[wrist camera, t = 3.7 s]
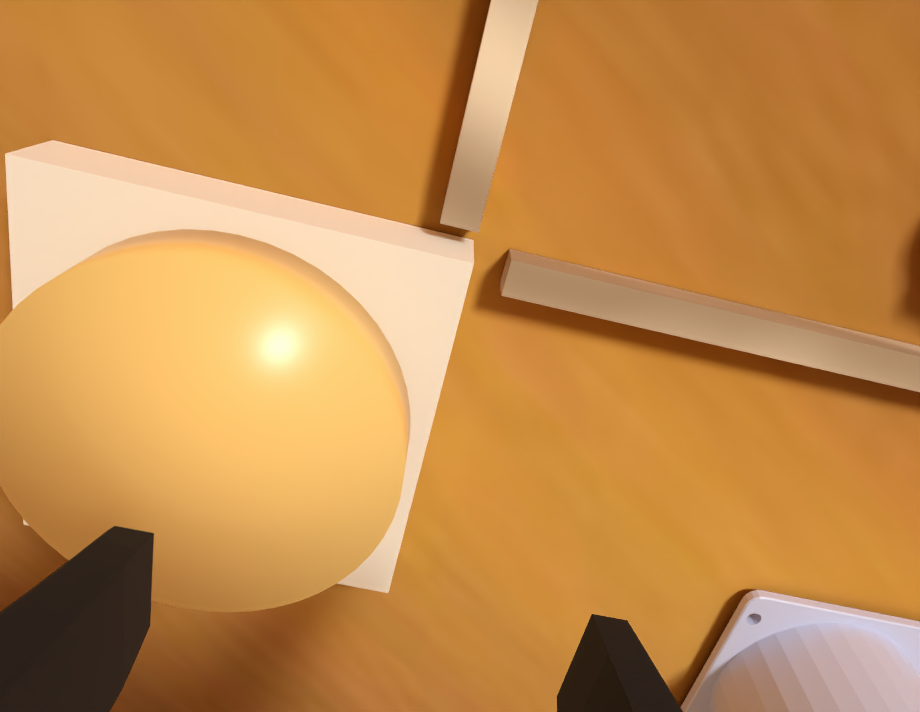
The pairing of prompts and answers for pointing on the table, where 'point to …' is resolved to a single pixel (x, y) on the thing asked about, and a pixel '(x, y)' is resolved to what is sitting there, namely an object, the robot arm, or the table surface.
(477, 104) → the lane
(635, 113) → the table surface
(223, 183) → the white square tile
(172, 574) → the dome
